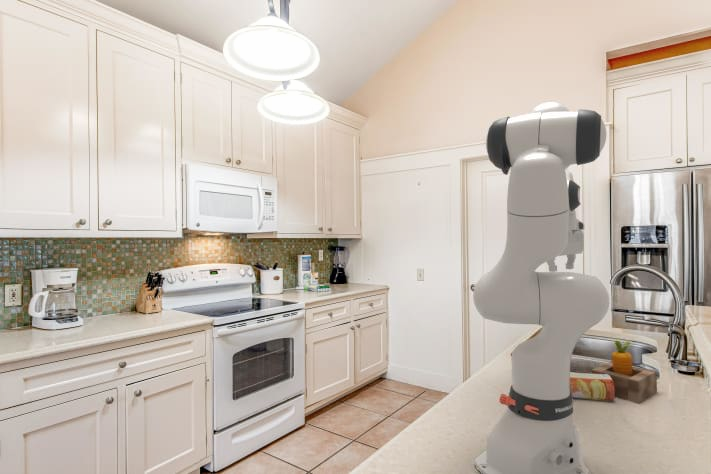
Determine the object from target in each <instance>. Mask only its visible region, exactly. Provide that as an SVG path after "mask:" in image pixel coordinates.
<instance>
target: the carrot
mask: <svg viewBox="0 0 711 474" xmlns="http://www.w3.org/2000/svg"><path fill="white" fill-rule="evenodd" d="M630 343H631V342H630V341H628V340H626V341H625V343H624V346H623V345H622V343H621V342H620V340H618V339H615V340H614V344H615V345H616V347H615V349H616V350H615V351H613V352H612V354H611V362H612V364H613V371H614V373H619V374H623V375H627V376H632V366H633V356H632V354H630V353H629V352H628V351H626V350H627V348H628V347H629V345H630Z"/></svg>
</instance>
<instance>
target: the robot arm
mask: <svg viewBox="0 0 711 474" xmlns="http://www.w3.org/2000/svg"><path fill="white" fill-rule="evenodd" d="M529 111H530V112H528V113H525V114H520V115H515V116H512V117H510V116H506V117H502V118H500V119H497V120H495V121H493V122H492V123H491V125H490V126H489V128H488V131H487V134H486V139H485V140H486V141H485V149H486V153H487V155H488V159H489V161H490V163H492V165H494V167H495V168H498V169H500V170H501V172H502V173H503V175H506V176H507V175H508V174H509V177H508V187H507V194H506V195H507V198H506V216H507V219H506V220H507V221H506V222H507V223H506V225H507V228H506V230H507V231H506V242H505V247H504V250H503V253H502V256H501V258H500V259H499V261H498V262H497V263H496V264H495V265H494V267H493V268H492V269H491V270H489V271H488V272H487V273H485V274H484V275H482V276H481V277H480V278H479V279H478V280H477V282H476V284H475V287H474V289H473V303H474V306H475V309H476V311H477V312H478V313H479V315H480V316H481V317H482V318H483V319H484V320H489V321H492V322H498V323H500V324H501V323H502V324H509V325H510V324H514V325H537V326H541V327H542V328H541V330H540V332H539V333H537V335H535V336H534V337H532V338H529V339H526V340H524V341H522V342H521V343H518V345H517V346H515V347H514V349H513V350H512V353H511V384H512V385H510V388H509V392H508V395H507V394H505V393H501V394H500V395H499V396H500V397H499V399H498V400H499V404H501V405H506V406H507V407H506V409H505V410H504V412H503V414H502V415H501V416H500V418H499V419H498V420H497V422H496V423H495V424H494V426H493V428H492V429H491V431H490V432H489V433H488V436H487V438H486V439H487V441H486V449H485V450H484V451H483V452H482V453H480V454H479V455H478V456H477V457H476V458H475V459H474V463H475V464H474V467H475V466H476V467H477V468H478V469H477V468H476V467H475V468H476V469H477V471H478V470H479V471H480V472H481V473H480V472H479V471H478V472H479V473H480V474H482V473H483V474H590V469H588V467H587V466H586V465H585V464H584V457H583V451H582V441H581V440H582V439H581V433H580V430H579V428H578V426H577V424H576V423H575V420H574V418H573V413H574V399H573V398H572V393H571V392H570V373H571V361H572V356H573V353H574V350H575V347H576V346H577V343H578V342H579V340H580V339H581V338H582V337H583V335H584V334H585V333H586V332H588V331H589V329H591V328H593V327H594V326H596V325H598V324H599V323H600V322H602V320H603V319H605V316H606V315H607V314H608V311H609V307H610V297H609V292H608V290H607V288H606V286H605V285H604V283H603V282H602V281H601V280H600V279H599V278H598V277H597V276H595V275H589V274H585V273H578V272H571V271H558V265H556V263H555V262H556V261H555V260H556V257H560V256H566V258H567V261H566V262H565V269H566V270H573V269H574V265H575V260H576V258H577V255H578V254H580V255H581V254H582V253H583V251H584V248H585V247H584V246H585V245H584V243H585V238H584V237H585V236H584V235H585V234H584V230H585V223H584V222H582V221H581V220H579V219H578V218H577V212H576V209H577V208H578V207H579V206H581V201H580V200H581V199H580V197H581V195H580V191H581V190H580V189H581V186H580V185H579V184H577V182H575V181H574V175H573V173H572V172H570V171H568V170H567V169H568V168H569V167H570V166H572V165H575V164H576V165H577V166H579V165H580V166H581V165H585V164H590V163H593V162H595V161H596V160H597V159H598V158H599V157H600V156H601V155H600V154H601V153H602V150H603V149H604V148H605V144H606V142H607V129H606V125H605V122H604V121H603V119H602V115H601V114H599V113H598V112H596V111H595V110H590V109H578V110H577V111H575V110H573V111H572V110H569V109H568V107H567V106H565V105H564V104H562V103H560V102H557V101H556V102H555V101H548V102H544V103H540V104H538V105H537V106H534V108H533V109H531V110H529ZM509 171H510V172H509ZM545 263H547V265H548V271H536V270H537V269H538V268H539V267H540V266H541V265H542V264H545Z"/></svg>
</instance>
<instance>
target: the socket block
mask: <svg viewBox="0 0 711 474" xmlns="http://www.w3.org/2000/svg"><path fill="white" fill-rule="evenodd" d="M591 374H607V375H609V376H610V377H611V378H612V380H613V382H614V386H615V397H614V398H618V399H621V400H625V401H628V402H633V403H635V404H640V403H642V402H644V401H645V400H648V398H649V399H650V397H652V396H654V395H655V394H657V393H658V387H657V385H658V381H657V371H655V370H651V369H647V368H642V367H637V366H633V365H632V376H627V375H623V374H619V373H614V371H613V364H612V361H609V362H606V363H604V364H602V365H600V366H597V367H595V368H593V369H591Z"/></svg>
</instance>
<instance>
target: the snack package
mask: <svg viewBox="0 0 711 474" xmlns="http://www.w3.org/2000/svg"><path fill="white" fill-rule="evenodd" d="M570 392H571V393H572V399H573V398H574V399H584V400H595V401H603V402H604V401H606V402H613V401H614V400H615V398H616V397H615V386H614V382H613V380H612V378H611V377H610V376H609V375H607V374H592V373H587V372H586V373H584V372H583V373H582V372H581V373H580V372H570Z"/></svg>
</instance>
